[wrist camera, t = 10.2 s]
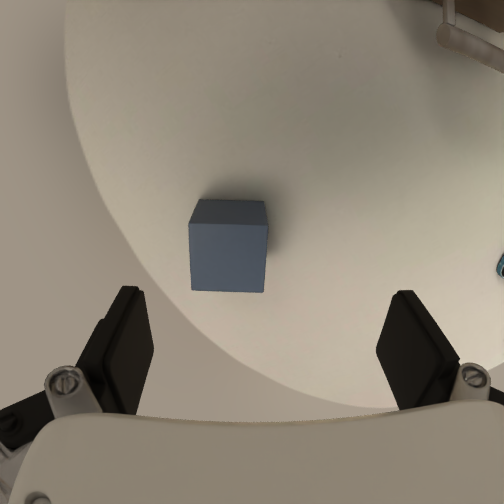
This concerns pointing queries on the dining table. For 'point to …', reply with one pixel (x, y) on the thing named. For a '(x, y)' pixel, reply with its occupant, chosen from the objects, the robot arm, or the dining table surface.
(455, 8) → the drawer
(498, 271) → the smartphone
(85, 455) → the robot arm
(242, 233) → the block
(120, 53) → the dining table surface
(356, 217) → the dining table surface
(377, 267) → the dining table surface
